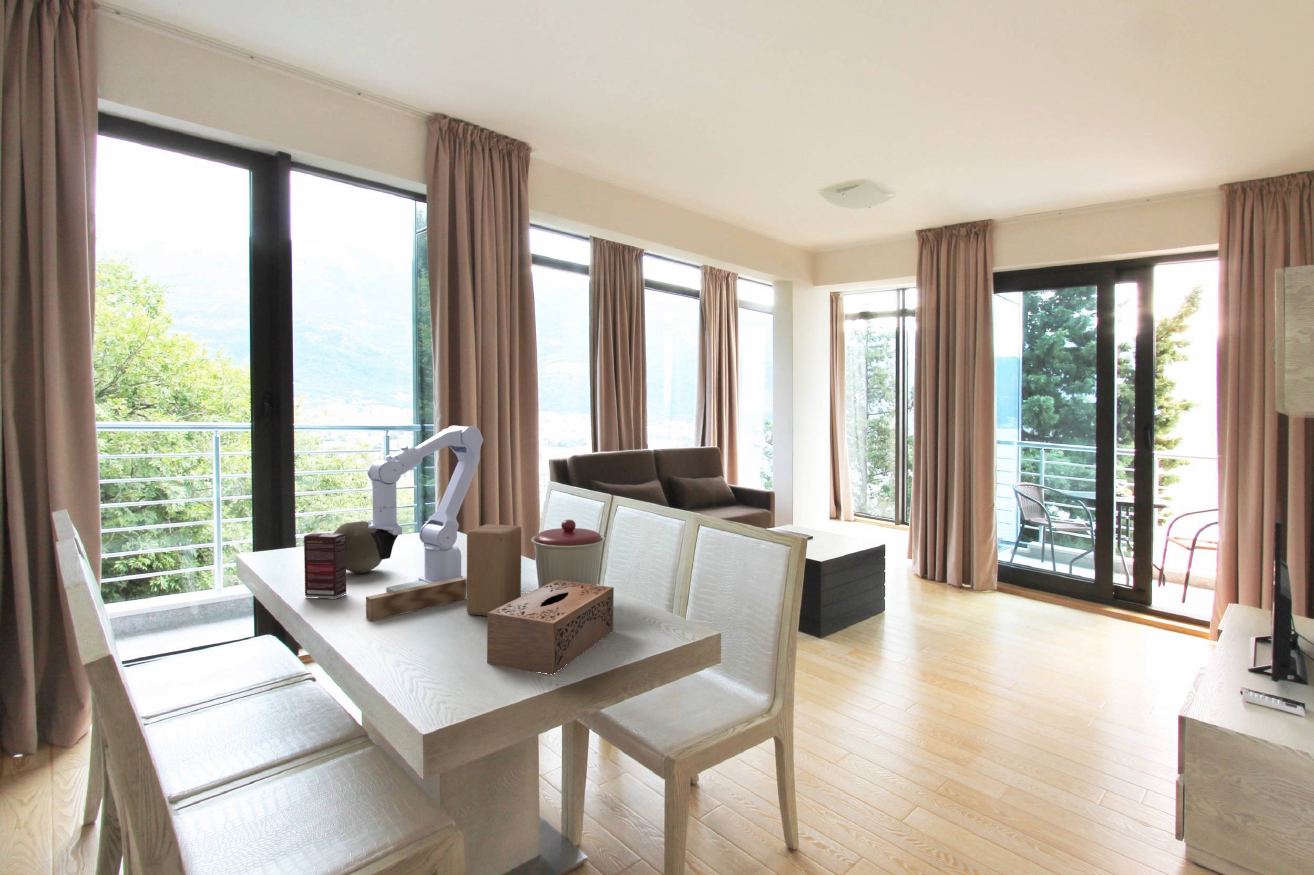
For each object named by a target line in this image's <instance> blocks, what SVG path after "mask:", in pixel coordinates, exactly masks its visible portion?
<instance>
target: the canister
mask: <svg viewBox="0 0 1314 875" xmlns="http://www.w3.org/2000/svg"><path fill="white" fill-rule="evenodd" d="M576 525H577V524H576V522H575V521H574V520H573V519H565V520H563V521H562V522H561V524H560V526H561V528H551V529H547V530H543V531H540V532H538V533H537V534H536V535H534V536H533V537H531V539H530V540H531V542H532V544H533V546H534V556H535V557H534V558H535V566H536V574H537V576H536V577H537V582H538V583H537V585H538V588H540V587H542V586H544V585H546V584H549V583H551V582H553V581H555V580H562V581H569V582H577V583H585V584H592V585H598V581H599V580H598V579H599V572H600V563H601V556H602V548H603V547H602V546H603V544H604V543H605V540H606V538H605V536H603V535H601V534H600V533H599V532H597V531H595V530H592V529H586V528H579V527H578V528H577V527H576Z"/></svg>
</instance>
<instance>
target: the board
mask: <svg viewBox="0 0 1314 875" xmlns="http://www.w3.org/2000/svg"><path fill="white" fill-rule="evenodd" d="M462 600H463V601H464V600H467V578H456V579H451V580H446V581H441V582H436V583H431V584H430V583H429V584H426V585H422V586H417V587H412V588H407V589H402V590H397V591H392V592H387V593H386V592H384V593H378V594H374V595H368V596H366V597H365V619H366V620H368V621H370V622H373V621H377V620H382V619H385V618H386V619H387V618H390V617H394V616H398V615H402V614H407V613H411V612H415V611H419V610H423V609H425V610H426V609H428V608H433V607H437V606H441V605H447V604H450V603H454V602H458V601H462Z"/></svg>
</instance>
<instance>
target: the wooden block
mask: <svg viewBox="0 0 1314 875" xmlns="http://www.w3.org/2000/svg"><path fill="white" fill-rule="evenodd" d="M521 596H522V527H521V526H519V525H514V524H513V525H511V524H509V525H508V524H495V523H492V524H491V523H486V524H483V525H480V526H478V527H475V528H473V529H470V530H468V531H467V533H466V612H467V613H466V614H468V615H473V616H474V615H476V616H484V617H487V613H488V612H490V611H492V610H494V609H496V608H498V607H501V606H503V605H505V604H507V603H509V602H511V601H513V600H515V599H517V598H519V597H521Z"/></svg>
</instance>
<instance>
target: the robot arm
mask: <svg viewBox="0 0 1314 875" xmlns="http://www.w3.org/2000/svg"><path fill="white" fill-rule="evenodd" d="M483 443H484V437H483V435H482V433H481V430H480V429H479V428H478V427H476V426H474V425H473V426H463V425H455V424H453V425H450V426H449V427H448V428H443V429H442V430H441V431H440V432H438V433H437V434H435V435H433V436H432V437H430V438H429V439H426V440H425V441H423V442H422V443H420V444H418V445H417V446H413V445H403V446H401V447H400V450H398V451H397V452H394V453H393V454H391V455H390V454H387V455H386V456H385V459H384V460H383V459H382V460H380V459H379V460H378V459H377V460H375V461H374V462H372V463H371V465H370V466H369V470H367V476H368V478H369V479H370V480H371V486H372V519H369V520H368V521H367V522H368V528H376V529H377V530H376V532H371V536H372V537H373V539H374V541H375V543H376V546H377V549H378V553H379V557H380V559H382V560H387V559H391V557H392V556H391V555H392V551H393V549H394V548H393V547H394V544H395V542H396V540H397V539H398V537H399V535H403V527H402V526H401V525H400V524H399V523H398V520H397V519H398V518H397V515H398V514H397V511H398V510H397V507H398V506H397V483H398V481H399V480H400V479H401V476H402V475H404V474H405V473H407V472H410V471H412V470H413V469H414V468H416V467H417V466H420V465H421V464H422V462H423V458H425V457H427V456H430V455H431V454H433V453H435V452H437V451H439V450H442V449H443V448H445V447H449V448H450V449H451V450H452V452H453V453H454V454H455V455H456V457H457V458H456V459H457V460H458V462H457V464H456V466H455V468H454V471H453V473H452V475H451V478H450V481H449V482H448V485H447V487H446V490H445V491H444V494H443V496H442V499H441V500H440V503H439V506H438V509H437V510H436V512H434V513H433V514H431V515H430V516H428V519H427V520H426V522H425V523H424V524H423V525H422V526H421V528H420V530H419V540H420V541H421V543H423V547H424V575H422V576H419V577H418V578H417V579H418V580H419V581H420V580H421V581H424V582H426V583H429V584H431V583H436V582H441V581H446V580H451V579H456V578H463V577H464V576H462V553H461V550H460V548H459V546H456V545H455V544H456V541H457V539H458V530H459V528H460V524H459V522H458V520H457V516H458V514H459V512H460V509H461V506H462V504H463V502H464V499H465V498H466V495H467V493H468V489H469V488H470V485H471V483H472V480H473V478H474V476H475V473H476V470H477V468H478V467H479V464H480V460H481V447H482V445H483Z"/></svg>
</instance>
